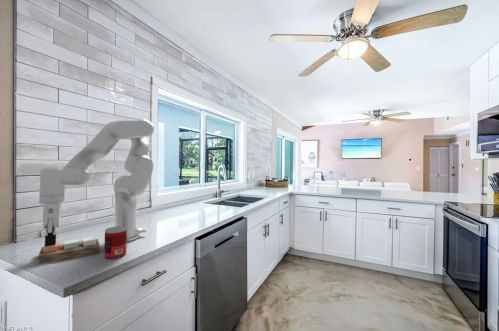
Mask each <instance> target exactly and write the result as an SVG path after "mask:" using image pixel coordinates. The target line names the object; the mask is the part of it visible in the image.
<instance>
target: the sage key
mask: <svg viewBox="0 0 499 331" xmlns="http://www.w3.org/2000/svg"><path fill="white" fill-rule="evenodd" d="M78 242H79V239H78V238H77V239H70V240H65V241H63V244H64V249H70V248H77V247H78Z"/></svg>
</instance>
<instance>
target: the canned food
mask: <svg viewBox="0 0 499 331" xmlns="http://www.w3.org/2000/svg"><path fill="white" fill-rule="evenodd" d="M127 242H128V241H127V227H124V226H117V227H115V226H111V227H107V228H106V229H105V230H104V253H103V254H104V258H105V259H107V258H108V260H113V259H112V258H116V259H119V258H118V257H120V258H122V257H124V256H125V255H126V254H127Z"/></svg>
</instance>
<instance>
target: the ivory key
mask: <svg viewBox="0 0 499 331" xmlns="http://www.w3.org/2000/svg"><path fill="white" fill-rule="evenodd" d="M96 239H97V237H96V236H92V237H91V236H90V237H82V241H83V246H89V245H95V244H96Z"/></svg>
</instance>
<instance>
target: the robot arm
mask: <svg viewBox="0 0 499 331" xmlns="http://www.w3.org/2000/svg"><path fill="white" fill-rule="evenodd" d="M154 129H155V128H154V124H153V123H152V122H151V121H149V120H147V119H137V120H136V119H134V120H133V119H132V120H117V121H110V122H108V123H106V124H105V125H104V126H103V127H102V128H101V130H100V131H98V133H97V134H96V135H95V136H94V137H93V139H92V140H91V141H89V143H88V144H87V145H86V146H84V147H82V149H81V150H80V151H78V152H77V153H76V154H75V155H74V156H73V157H72V158H71V159H70V160H69V161H68V162H67V163H66V164H65V166H63V168H62V167H42V168H41V169H40V171H39V193H38V194H39V196H38V197H39V198H38V203H39V204H40V205H41V204H42V228H43V230H45V235H44V244H45V246H51V245H55V244H56V242H57V233H56V229H59V228H60V227H61V224H62V223H61V221H62V220H61V218H62V216H61V215H62V203H64V202H65V190H66V188H65V187H66V186H82V185H85V184H87V183H88V182H89V180H90V177H91V176H90V172H89V171H88V170H87V169H88V168H89V167H91V165H93V164H94V163H96V162H98V161H100V160H102V159H104V158H106V157H107V156H108V155H109V154H110V153H111V151H112V149H113V148H115V146H117V144H118V143H119V141H120V140H129V139H130V142H131V144H130V145H131V146H130V149H129V152H128V154H127V157H126V159H125V161H124V166H123V167H124V171H126V172H127V173H129V174H130V175H121V176H119V177H118V178H116V180H114V182H113V191H114V200H115V202H114V205H115V208H114V227H117V226H124V227H127V242H131V241H135V240H137V239H139V238H140V234H141V233H147V228H137V212H138V210H137V204H138V201H137V197H139V196H141V195H143V194H144V193H145V191H146V190H147V188H148V185H149V182H150V179H151V177H152V173H153V171H154V163H153V162H154V161H153V159H152V158H150V156H148V153H149V149H150V143H149V140H148V138H149V137H150V136H152V135H153V133H154ZM147 137H148V138H147Z"/></svg>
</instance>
